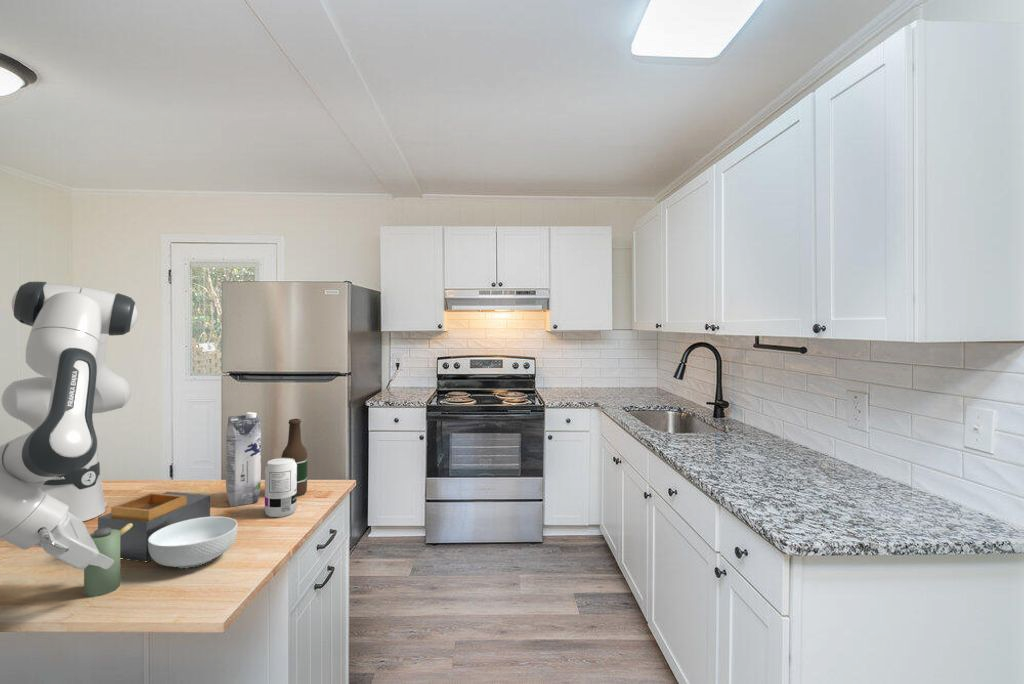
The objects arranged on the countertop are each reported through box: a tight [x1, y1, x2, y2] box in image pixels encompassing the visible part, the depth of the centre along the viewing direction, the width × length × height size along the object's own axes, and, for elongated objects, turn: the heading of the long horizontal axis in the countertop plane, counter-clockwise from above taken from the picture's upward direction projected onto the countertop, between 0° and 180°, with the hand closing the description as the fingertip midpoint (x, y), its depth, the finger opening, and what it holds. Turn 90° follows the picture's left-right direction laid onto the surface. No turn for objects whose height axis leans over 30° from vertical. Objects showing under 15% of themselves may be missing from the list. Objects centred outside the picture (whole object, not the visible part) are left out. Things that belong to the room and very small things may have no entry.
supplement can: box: [264, 457, 298, 518], centre depth 136 cm, size 8×8×15 cm
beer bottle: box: [280, 418, 308, 497], centre depth 152 cm, size 8×8×24 cm
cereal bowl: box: [148, 516, 239, 569], centre depth 108 cm, size 17×17×7 cm
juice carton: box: [225, 411, 262, 508], centre depth 145 cm, size 9×10×27 cm
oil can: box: [83, 523, 133, 598], centre depth 96 cm, size 8×6×12 cm
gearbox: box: [97, 491, 211, 562], centre depth 117 cm, size 16×18×11 cm
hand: (106, 556), depth 96 cm, fingers open, 8 cm apart
